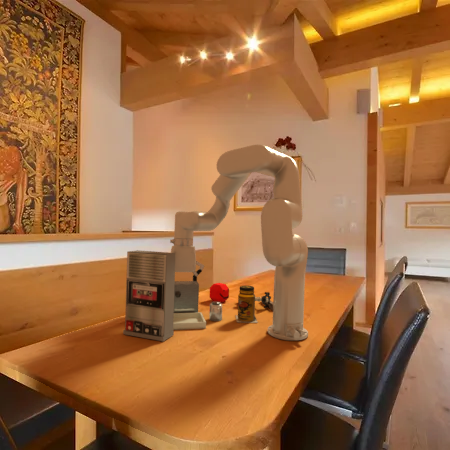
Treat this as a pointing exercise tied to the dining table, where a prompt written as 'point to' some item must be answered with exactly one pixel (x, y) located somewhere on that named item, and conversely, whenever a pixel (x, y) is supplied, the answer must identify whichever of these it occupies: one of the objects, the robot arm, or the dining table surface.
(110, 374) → the dining table surface
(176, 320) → the tray
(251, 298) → the condiment
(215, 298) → the ball
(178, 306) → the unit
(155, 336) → the cassette tape recorder
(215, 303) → the cylinder
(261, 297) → the valve rest
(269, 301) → the valve
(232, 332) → the dining table surface
